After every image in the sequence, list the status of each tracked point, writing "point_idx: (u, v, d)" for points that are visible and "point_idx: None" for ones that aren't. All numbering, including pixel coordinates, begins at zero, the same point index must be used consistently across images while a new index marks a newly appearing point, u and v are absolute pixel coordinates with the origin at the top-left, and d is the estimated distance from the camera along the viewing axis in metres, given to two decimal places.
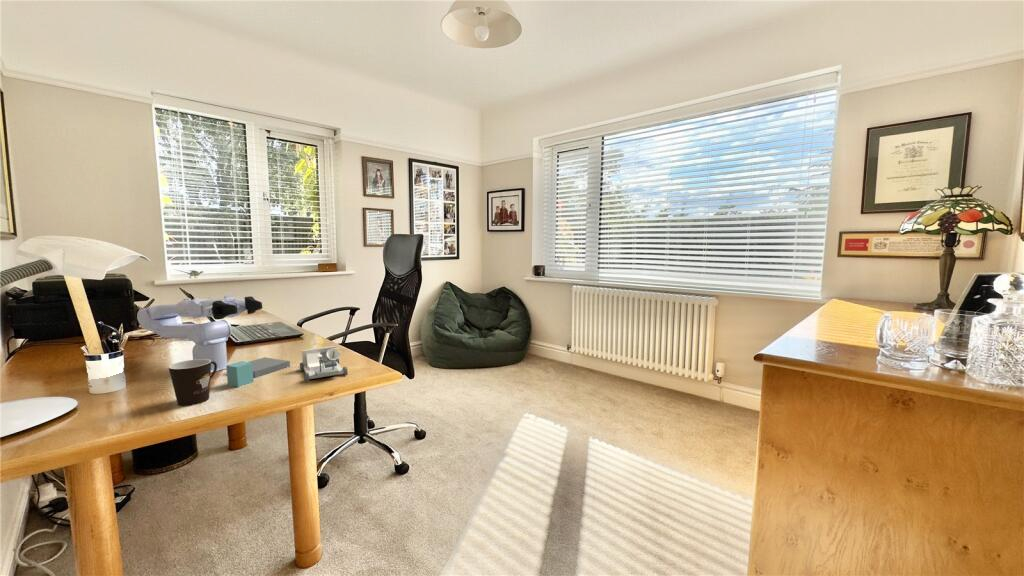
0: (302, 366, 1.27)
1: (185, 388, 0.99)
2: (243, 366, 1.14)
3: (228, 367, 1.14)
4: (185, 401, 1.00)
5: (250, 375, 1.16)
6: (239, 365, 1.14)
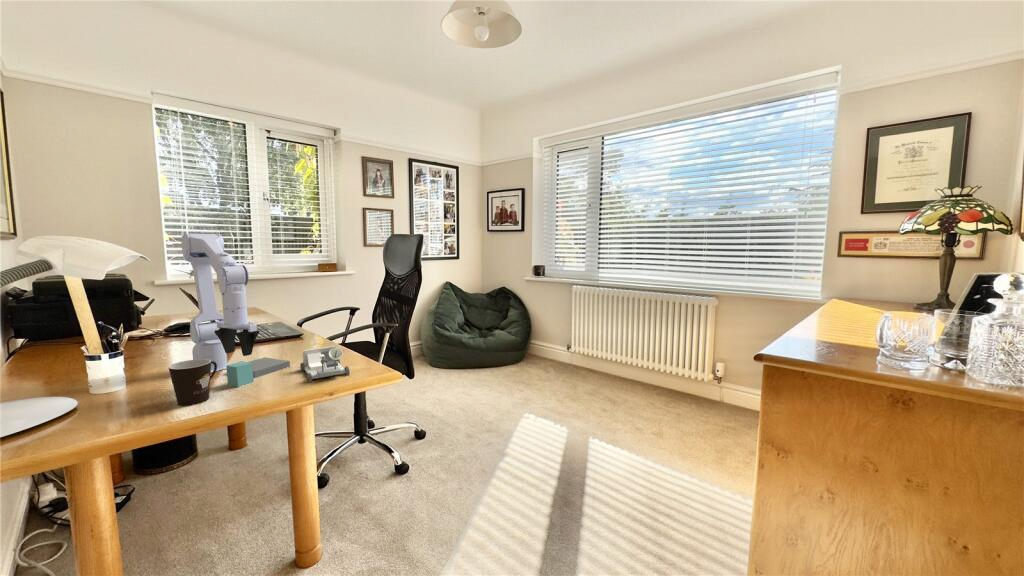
0: (303, 366, 1.27)
1: (185, 388, 0.99)
2: (243, 366, 1.14)
3: (228, 367, 1.14)
4: (185, 401, 1.00)
5: (250, 375, 1.16)
6: (239, 365, 1.14)
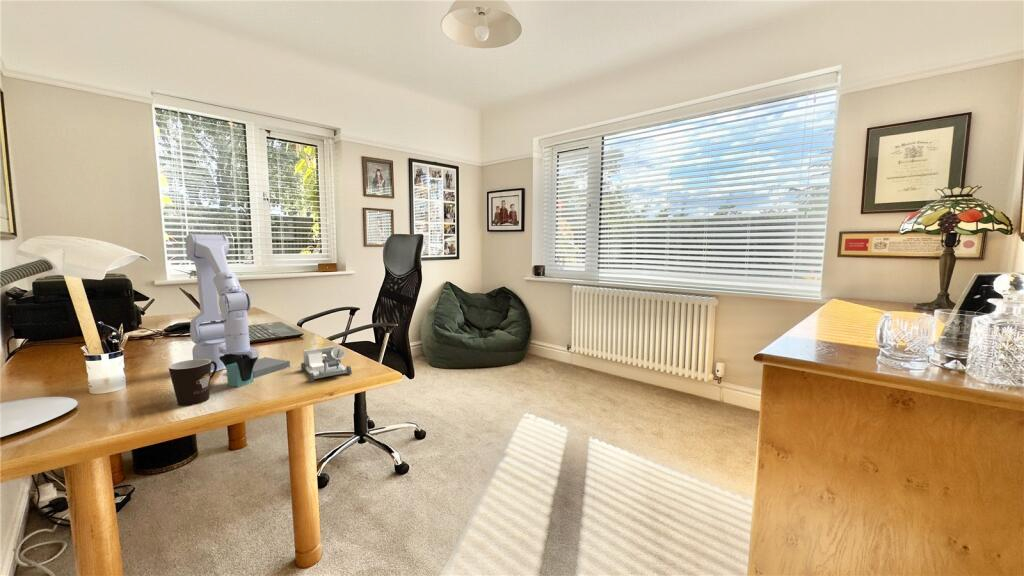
0: (304, 366, 1.27)
1: (185, 388, 0.99)
2: None
3: (228, 367, 1.14)
4: (185, 401, 1.00)
5: None
6: None
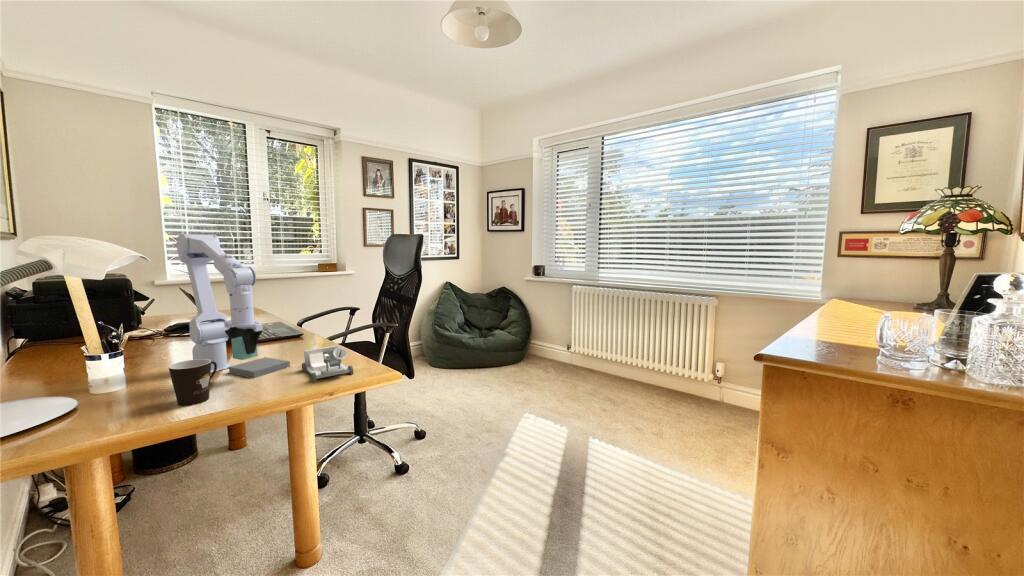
0: (305, 366, 1.27)
1: (185, 388, 0.99)
2: None
3: (233, 340, 1.17)
4: (185, 401, 1.00)
5: None
6: None
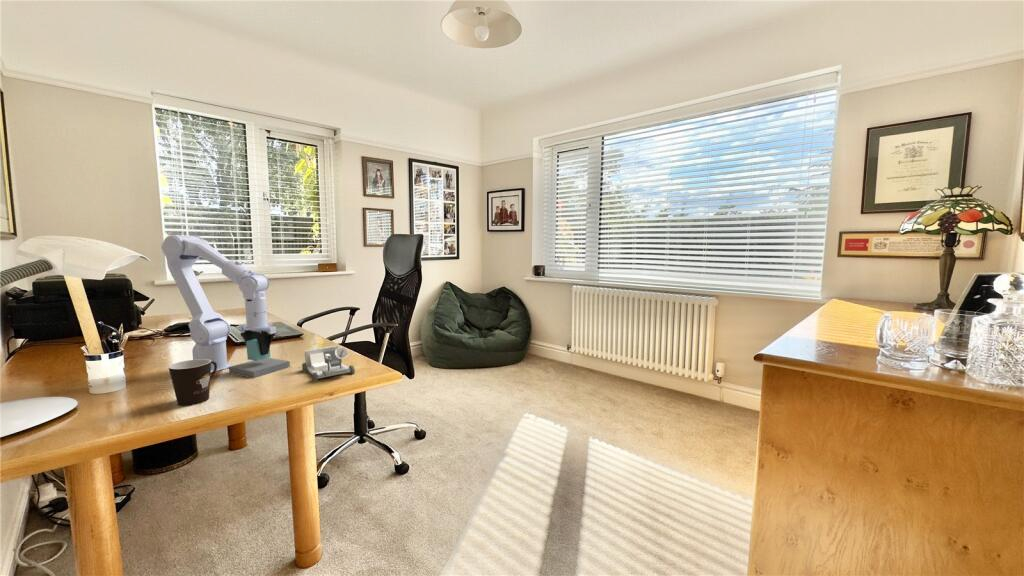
0: (305, 366, 1.27)
1: (185, 388, 0.99)
2: None
3: (248, 343, 1.26)
4: (185, 401, 1.00)
5: None
6: None
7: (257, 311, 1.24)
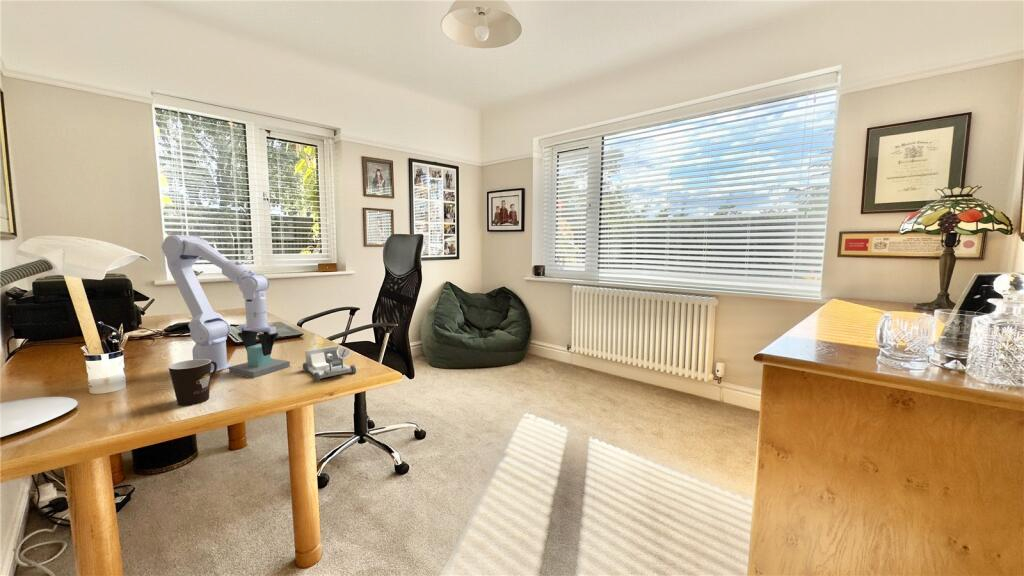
0: (306, 366, 1.27)
1: (185, 388, 0.99)
2: None
3: (248, 349, 1.26)
4: (185, 401, 1.00)
5: (268, 356, 1.29)
6: (258, 347, 1.26)
7: (257, 311, 1.24)
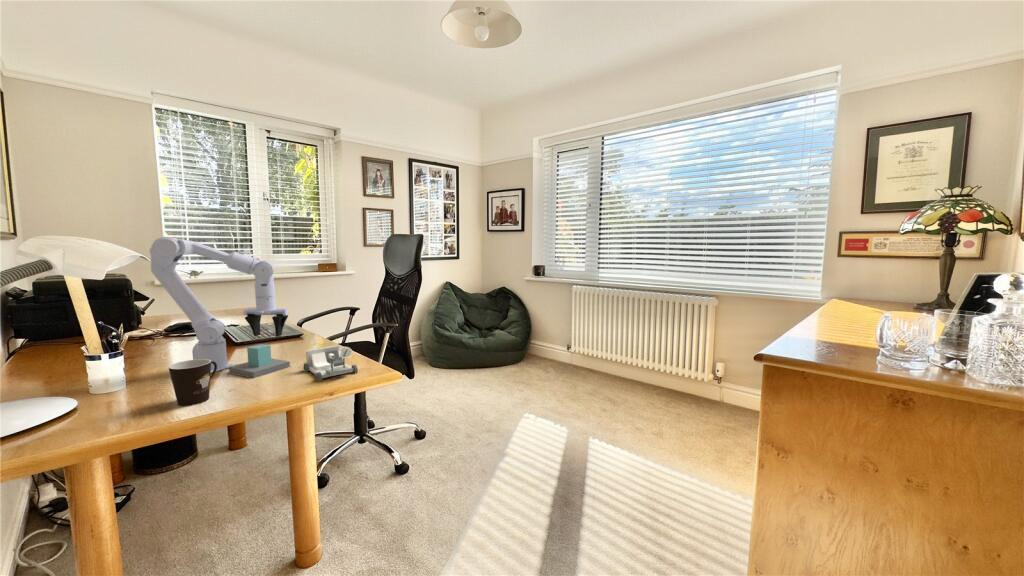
0: (307, 366, 1.27)
1: (185, 388, 0.99)
2: (263, 348, 1.27)
3: (249, 349, 1.26)
4: (185, 401, 1.00)
5: (269, 356, 1.29)
6: (259, 347, 1.26)
7: (271, 295, 1.33)
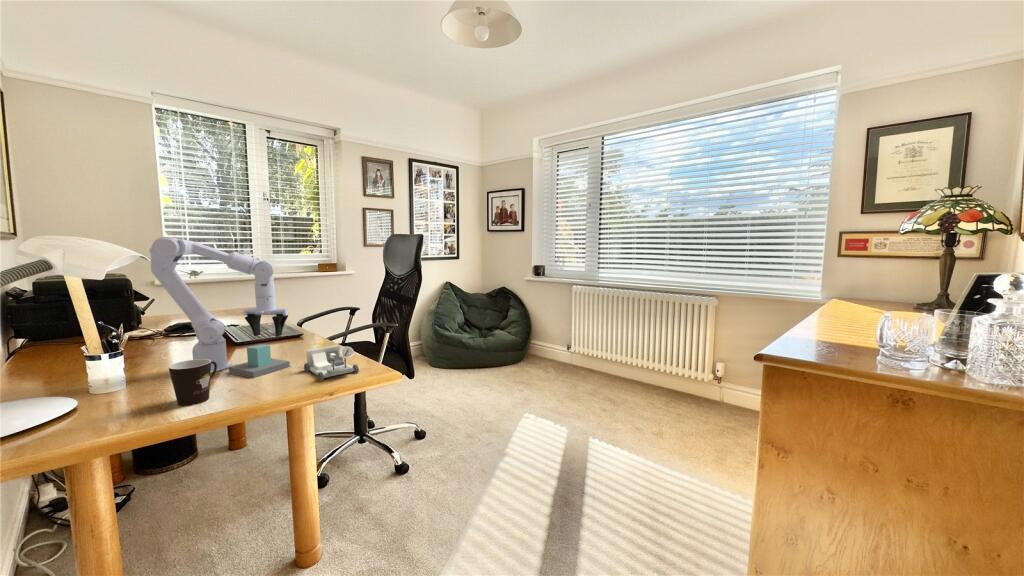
0: (308, 366, 1.27)
1: (185, 388, 0.99)
2: (262, 348, 1.26)
3: (248, 349, 1.26)
4: (185, 401, 1.00)
5: (268, 356, 1.29)
6: (259, 347, 1.26)
7: (271, 295, 1.33)
